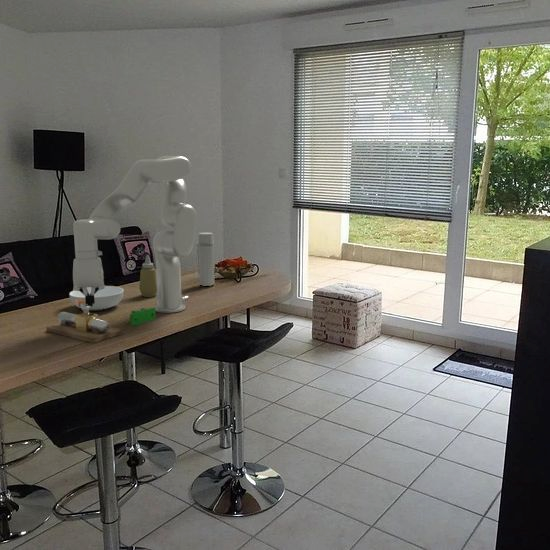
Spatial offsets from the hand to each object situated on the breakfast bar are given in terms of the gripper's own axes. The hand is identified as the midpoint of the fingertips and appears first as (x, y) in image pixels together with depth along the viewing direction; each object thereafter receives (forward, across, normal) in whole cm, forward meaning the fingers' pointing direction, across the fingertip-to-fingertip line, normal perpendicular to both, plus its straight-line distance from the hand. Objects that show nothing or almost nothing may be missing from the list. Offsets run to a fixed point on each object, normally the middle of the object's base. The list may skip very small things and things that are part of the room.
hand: (90, 305), depth 207 cm
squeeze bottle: (+8, -21, -43) cm, 49 cm away
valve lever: (+1, +2, +4) cm, 5 cm away
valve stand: (+8, +2, +8) cm, 11 cm away
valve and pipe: (+6, +2, +8) cm, 10 cm away
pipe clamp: (+8, -17, -2) cm, 19 cm away
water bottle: (+9, -47, -59) cm, 76 cm away
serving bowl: (+8, 0, -27) cm, 28 cm away
